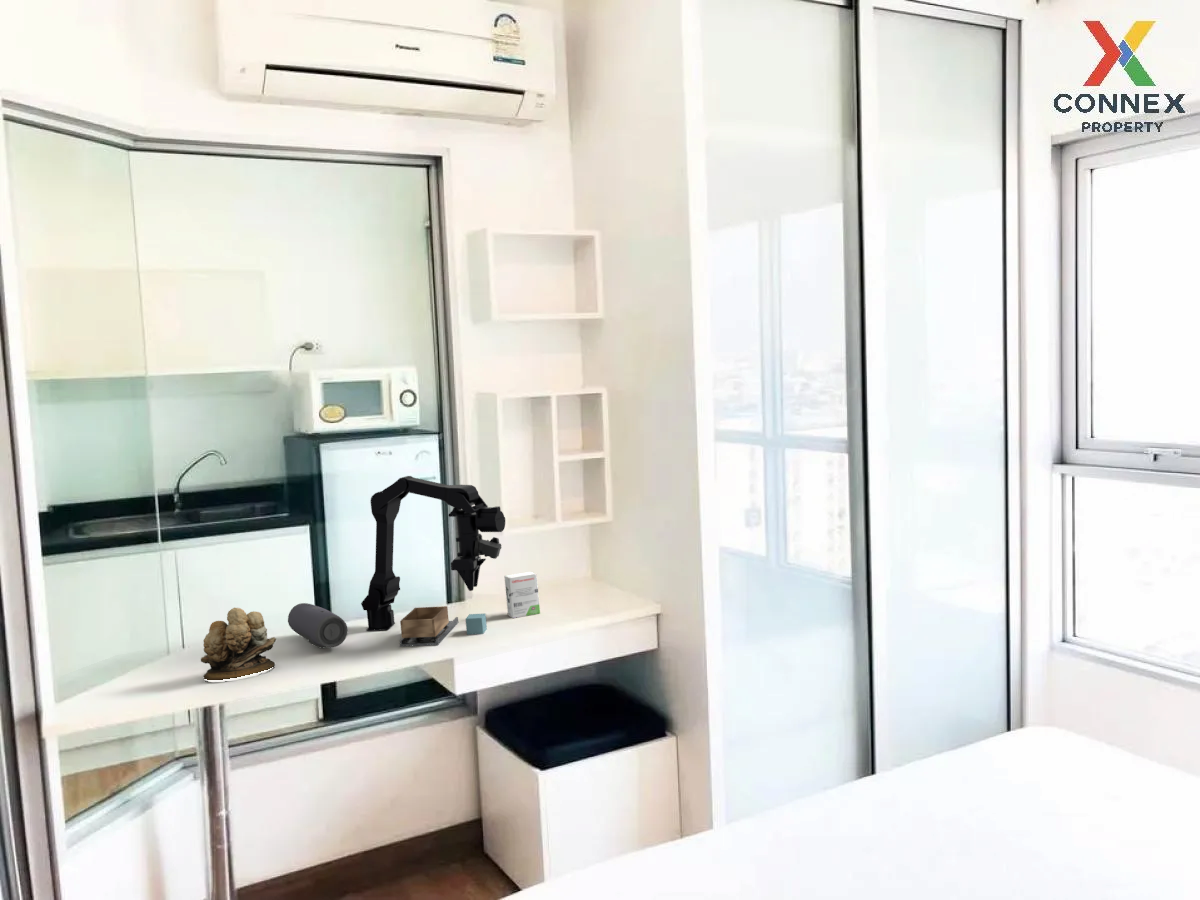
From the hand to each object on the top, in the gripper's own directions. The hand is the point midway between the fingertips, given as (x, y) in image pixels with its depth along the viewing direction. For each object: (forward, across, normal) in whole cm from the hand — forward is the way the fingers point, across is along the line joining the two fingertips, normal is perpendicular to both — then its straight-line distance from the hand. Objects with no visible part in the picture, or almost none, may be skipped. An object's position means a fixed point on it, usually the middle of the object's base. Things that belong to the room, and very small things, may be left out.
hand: (473, 588), depth 263 cm
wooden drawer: (+12, -4, +13) cm, 18 cm away
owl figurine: (+12, -28, +54) cm, 62 cm away
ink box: (+12, +16, -10) cm, 22 cm away
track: (+12, 0, +13) cm, 18 cm away
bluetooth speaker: (+12, -5, +43) cm, 45 cm away
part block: (+12, 0, 0) cm, 12 cm away
